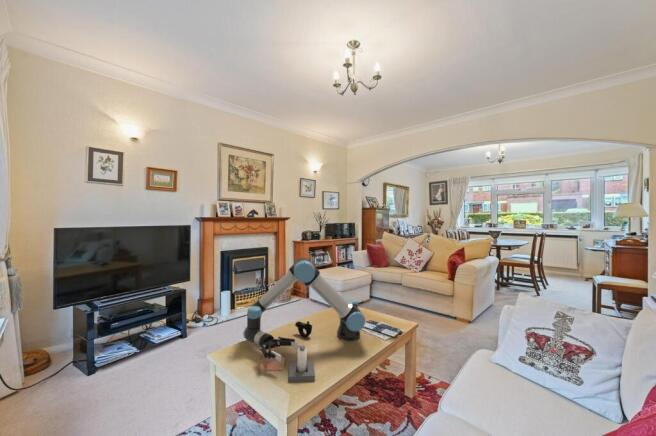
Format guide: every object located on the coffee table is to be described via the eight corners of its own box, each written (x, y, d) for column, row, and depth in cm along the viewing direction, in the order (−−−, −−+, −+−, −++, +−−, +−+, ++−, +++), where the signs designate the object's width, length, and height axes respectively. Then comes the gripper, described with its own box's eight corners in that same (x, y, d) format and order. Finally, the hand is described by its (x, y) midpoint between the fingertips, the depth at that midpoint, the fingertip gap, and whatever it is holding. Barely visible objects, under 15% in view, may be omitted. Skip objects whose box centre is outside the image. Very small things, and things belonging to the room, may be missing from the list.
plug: (306, 371, 137) (306, 344, 137) (306, 376, 133) (307, 348, 132) (297, 371, 137) (297, 344, 136) (297, 376, 132) (297, 348, 132)
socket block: (313, 367, 141) (313, 362, 141) (314, 382, 129) (314, 375, 129) (289, 368, 140) (289, 362, 140) (288, 383, 128) (289, 376, 128)
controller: (309, 339, 173) (309, 323, 172) (293, 334, 179) (294, 319, 179) (313, 337, 176) (313, 321, 176) (298, 332, 183) (298, 317, 183)
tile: (284, 358, 150) (284, 356, 150) (283, 371, 138) (283, 369, 138) (262, 359, 148) (262, 357, 148) (258, 372, 136) (259, 370, 136)
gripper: (281, 339, 162) (307, 351, 149) (244, 355, 143) (271, 370, 129) (281, 326, 162) (307, 337, 149) (244, 341, 143) (271, 355, 129)
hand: (290, 353), depth 139 cm, fingers open, 13 cm apart
